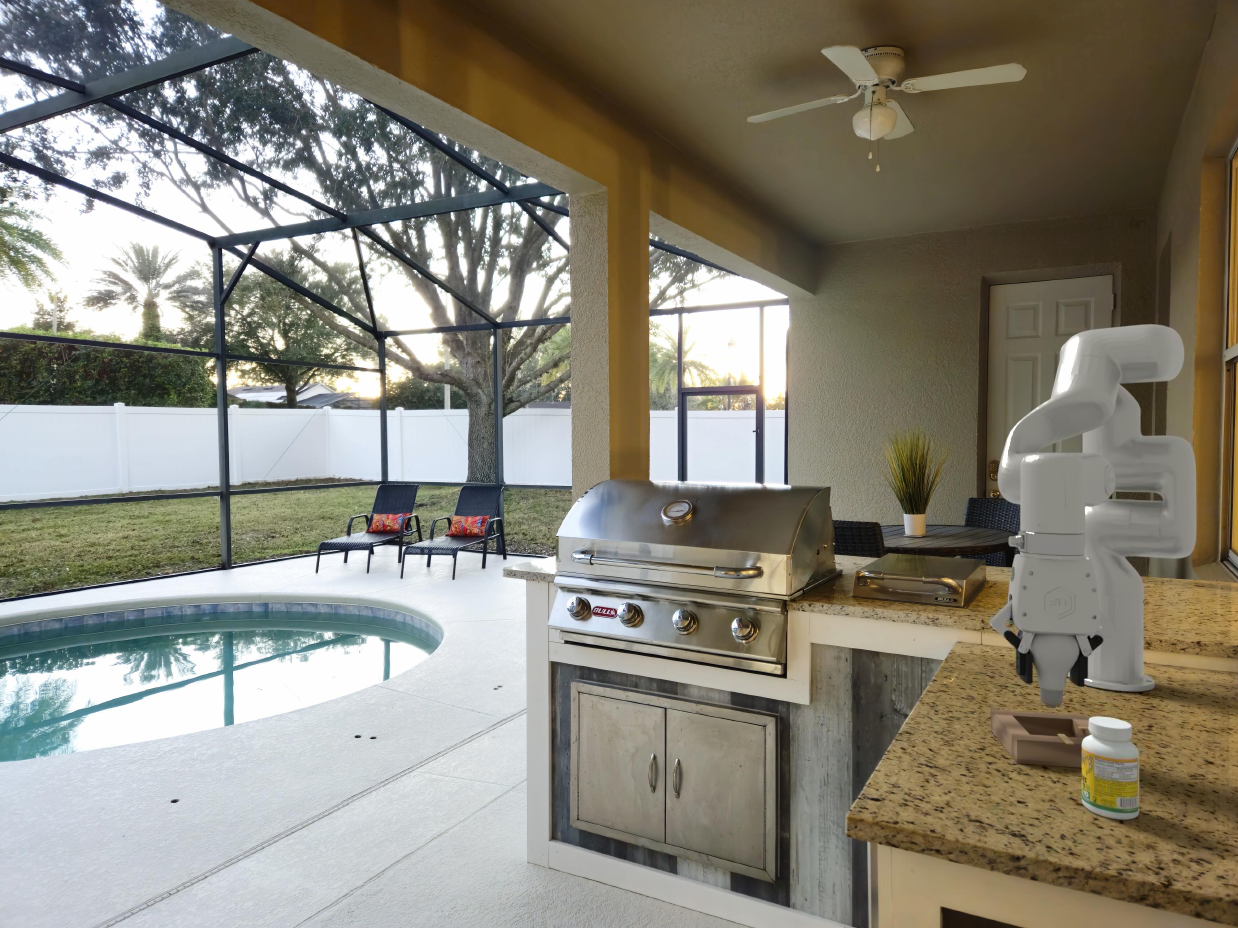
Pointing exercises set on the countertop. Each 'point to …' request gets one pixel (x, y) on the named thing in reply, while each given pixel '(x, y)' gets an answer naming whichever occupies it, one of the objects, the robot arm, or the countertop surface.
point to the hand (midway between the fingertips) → (1051, 681)
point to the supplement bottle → (1110, 769)
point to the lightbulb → (1053, 664)
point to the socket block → (1041, 736)
